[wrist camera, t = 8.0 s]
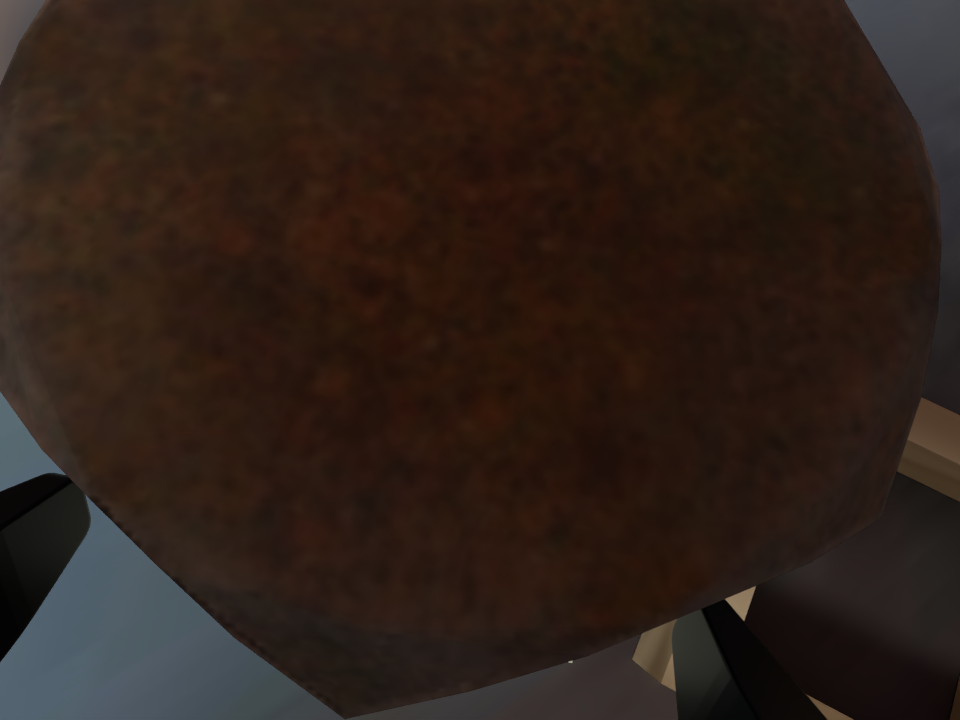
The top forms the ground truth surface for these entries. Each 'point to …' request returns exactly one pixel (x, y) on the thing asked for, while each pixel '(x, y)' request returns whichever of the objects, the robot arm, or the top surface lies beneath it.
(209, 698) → the top surface
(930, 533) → the top surface
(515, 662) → the bolt
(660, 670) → the socket
